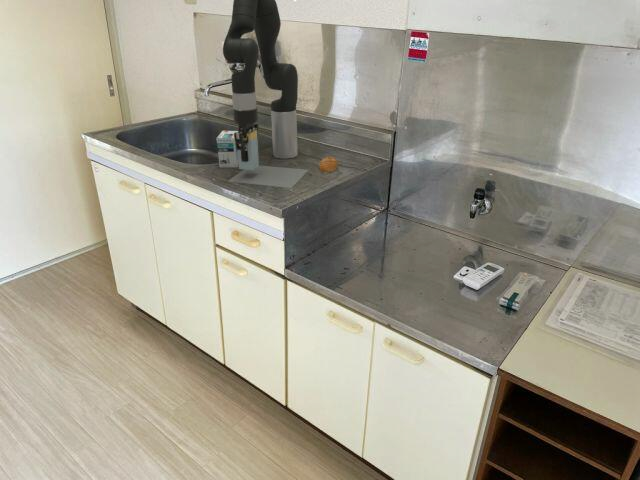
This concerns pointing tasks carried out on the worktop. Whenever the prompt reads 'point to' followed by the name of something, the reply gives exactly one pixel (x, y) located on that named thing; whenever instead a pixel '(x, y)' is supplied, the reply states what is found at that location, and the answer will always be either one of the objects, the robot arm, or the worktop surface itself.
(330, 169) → the pastry
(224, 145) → the light bulb box
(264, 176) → the mat
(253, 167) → the block
